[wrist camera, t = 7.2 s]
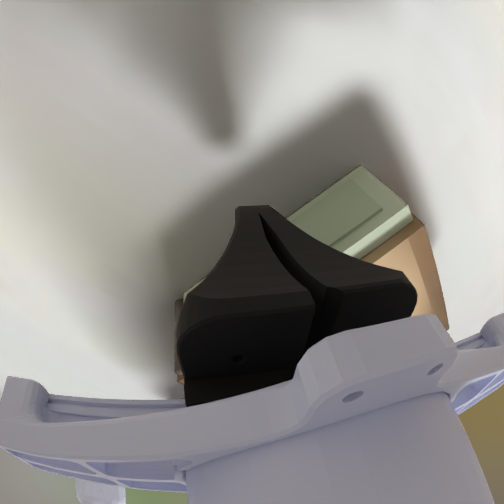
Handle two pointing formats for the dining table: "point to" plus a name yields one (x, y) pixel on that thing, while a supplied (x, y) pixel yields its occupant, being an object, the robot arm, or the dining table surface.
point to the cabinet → (399, 258)
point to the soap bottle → (99, 493)
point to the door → (352, 215)
